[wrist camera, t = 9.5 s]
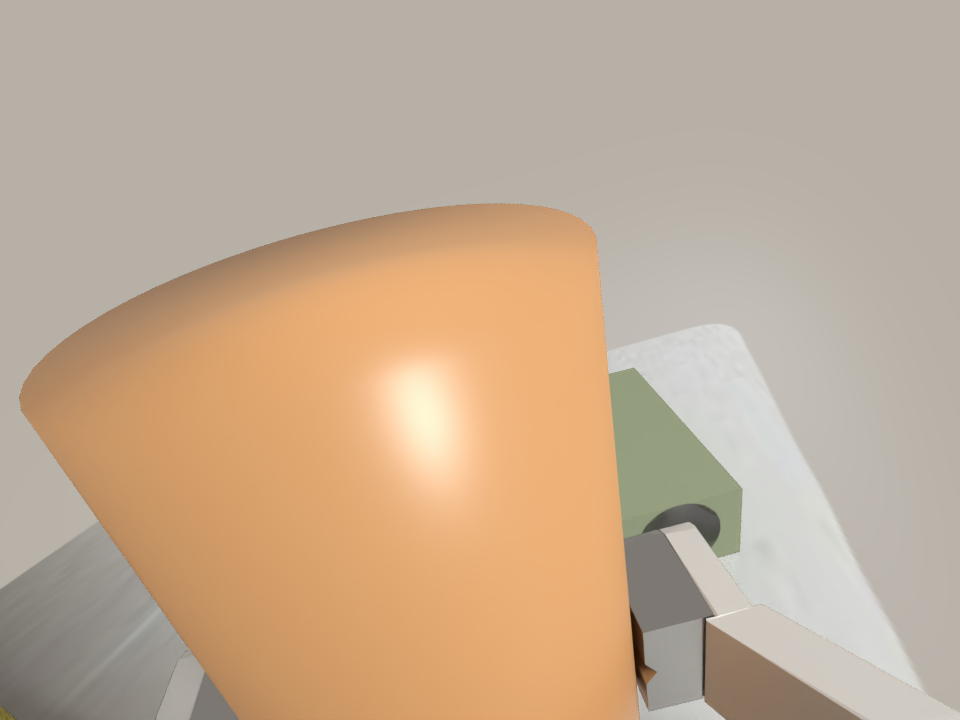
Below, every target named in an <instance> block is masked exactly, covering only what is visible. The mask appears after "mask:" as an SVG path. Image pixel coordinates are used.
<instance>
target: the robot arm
mask: <svg viewBox="0 0 960 720" xmlns="http://www.w3.org/2000/svg"><path fill="white" fill-rule="evenodd" d="M624 551H625V562H626V573H627V584H628V595H629V606H630V617H631V628H632V639H633V650H634V661H635V672H636V683H637V685H638V687H639V690H640V692H641V694H642V697H643V699H644V702H645V704H646V706H647V709H648V711H653V710H657V709H661V708H665V707H670V706H674V705H678V704H682V703H686V702H690V701H694V700H699V699H703V698H705V702H706V703H707V704H708V705H709V706H711V707H712V708H713V709H714V710H715V711H717V712H718V713H719V714H720V715H721V716H722V717H724V718H725V719H726V720H960V713H959V712H957V711H956V710H954V709H952V708H950V707H948V706H946V705H945V704H943V703H941V702H939V701H937V700H936V699H934V698H932V697H930V696H928V695H926V694H925V693H923V692H921V691H919V690H917V689H916V688H914V687H912V686H910V685H908V684H907V683H905V682H903V681H901V680H899V679H897V678H896V677H894V676H892V675H890V674H888V673H887V672H885V671H883V670H881V669H879V668H877V667H876V666H874V665H872V664H870V663H868V662H867V661H865V660H863V659H861V658H859V657H857V656H856V655H854V654H852V653H850V652H848V651H847V650H845V649H843V648H841V647H839V646H838V645H836V644H834V643H832V642H830V641H828V640H827V639H825V638H823V637H821V636H819V635H818V634H816V633H814V632H812V631H810V630H808V629H807V628H805V627H803V626H801V625H799V624H798V623H796V622H794V621H792V620H790V619H789V618H787V617H785V616H783V615H781V614H779V613H778V612H776V611H774V610H772V609H770V608H769V607H767V606H765V605H763V604H760V605H756V606H752V605H751V604H750V602H749V601H748V599H747V598H746V597H745V595H744V594H743V592H742V591H741V590H740V588H739V587H738V585H737V584H736V583H735V581H734V580H733V578H732V577H731V576H730V574H729V573H728V571H727V570H726V569H725V567H724V566H723V564H722V563H721V562H720V560H719V559H718V557H717V556H716V555H715V553H714V552H713V550H712V549H711V548H710V546H709V545H708V543H707V542H706V541H705V539H704V538H703V536H702V535H701V533H700V532H699V531H698V529H697V528H696V526H695V525H693V524H691V523H690V522H686V523H682V524H678V525H675V526H671V527H667V528H663V529H659V530H653V531H650V532H646V533H642V534H639V535H635V536H631V537H628V538H624ZM155 720H239V719H238V717H237V716H236V715H235V713H234V712H233V710H232V709H231V707H230V706H229V705H228V703H227V702H226V700H225V699H224V698H223V696H222V695H221V693H220V692H219V690H218V689H217V688H216V686H215V685H214V683H213V682H212V681H211V679H210V678H209V676H208V675H207V673H206V672H205V671H204V669H203V668H202V666H201V665H200V663H199V662H198V661H197V659H196V658H195V656H194V655H193V654H192V652H191V651H190V650H188V651H186V652H185V653H184V654H183V655H182V657H181V658H180V659H179V660H178V662H177V663H176V666H175V669H174V671H173V674H172V677H171V679H170V682H169V684H168V687H167V690H166V692H165V695H164V698H163V700H162V703H161V705H160V708H159V711H158V713H157V716H156V718H155Z"/></svg>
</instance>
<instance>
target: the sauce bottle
mask: <svg viewBox="0 0 960 720" xmlns="http://www.w3.org/2000/svg"><path fill="white" fill-rule="evenodd" d="M0 720H17V719H15V718H14V717H13V716H12V715H11V714H10V713H8V712H7V711H6V710H5V709H4V708H3V707H1V706H0Z"/></svg>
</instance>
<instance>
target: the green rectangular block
mask: <svg viewBox="0 0 960 720" xmlns="http://www.w3.org/2000/svg"><path fill="white" fill-rule="evenodd" d="M609 384H610V395H611V406H612V417H613V429H614V440H615V451H616V462H617V473H618V484H619V495H620V506H621V517H622V528H623V539H624V538H628V537H631V536H635V535H639V534H642V533H646V532H650V531H653V530H659V529H663V528H667V527H671V526H675V525H678V524H682V523H686V522H690V523H691V524H693V525H695V526H696V528H697V529H698V531H699V532H700V533H701V535H702V536H703V538H704V539H705V541H706V542H707V543H708V545H709V546H710V548H711V549H712V550H713V552H714V553H715V555H716V556H717V557H721V556H724V555H728V554H732V553H736V552H739V551H740V533H741V510H742V488H741V486H740V485H739V484H738V483H737V482H736V481H735V480H734V479H733V477H732V476H731V475H730V474H729V473H728V472H727V471H726V470H725V469H724V467H723V466H722V465H721V464H720V463H719V462H718V461H717V460H716V459H715V457H714V456H713V455H712V454H711V453H710V452H709V451H708V450H707V448H706V447H705V446H704V445H703V444H702V443H701V442H700V441H699V440H698V438H697V437H696V436H695V435H694V434H693V433H692V432H691V431H690V429H689V428H688V427H687V426H686V425H685V424H684V423H683V422H682V421H681V419H680V418H679V417H678V416H677V415H676V414H675V413H674V412H673V410H672V409H671V408H670V407H669V406H668V405H667V404H666V403H665V402H664V400H663V399H662V398H661V397H660V396H659V395H658V394H657V393H656V392H655V390H654V389H653V388H652V387H651V386H650V385H649V384H648V383H647V381H646V380H645V379H644V378H643V377H642V376H641V375H640V374H639V373H638V371H637V370H636V369H635V368H631V369H627V370H623V371H619V372H615V373H611V374H609Z"/></svg>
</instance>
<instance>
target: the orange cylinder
mask: <svg viewBox="0 0 960 720" xmlns="http://www.w3.org/2000/svg"><path fill="white" fill-rule="evenodd" d="M19 399H20V405H21V410H22V412H23V414H24V415H25V416H26V418H27V419H28V421H29V422H30V424H31V425H32V426H33V428H34V429H35V431H36V432H37V434H38V435H39V436H40V438H41V439H42V441H43V442H44V443H45V445H46V446H47V447H48V449H49V451H50V452H51V453H52V455H53V456H54V458H55V459H56V460H57V462H58V463H59V465H60V466H61V467H62V469H63V470H64V472H65V473H66V475H67V476H68V477H69V479H70V480H71V482H72V483H73V485H74V486H75V487H76V489H77V490H78V492H79V493H80V494H81V496H82V497H83V499H84V500H85V502H86V503H87V504H88V506H89V507H90V509H91V510H92V512H93V513H94V514H95V516H96V517H97V519H98V520H99V522H100V523H101V524H102V526H103V527H104V529H105V530H106V531H107V533H108V534H109V536H110V537H111V539H112V540H113V541H114V543H115V544H116V546H117V547H118V548H119V550H120V551H121V553H122V554H123V556H124V557H125V558H126V560H127V561H128V563H129V564H130V566H131V567H132V568H133V570H134V571H135V573H136V574H137V575H138V577H139V578H140V580H141V581H142V583H143V584H144V585H145V587H146V588H147V590H148V591H149V593H150V594H151V595H152V597H153V598H154V600H155V601H156V602H157V604H158V605H159V607H160V608H161V610H162V611H163V612H164V614H165V615H166V617H167V618H168V619H169V621H170V622H171V624H172V625H173V627H174V628H175V629H176V631H177V632H178V634H179V635H180V637H181V638H182V639H183V641H184V642H185V644H186V645H187V646H188V648H189V649H190V651H191V652H192V654H193V655H194V656H195V658H196V659H197V661H198V662H199V663H200V665H201V666H202V668H203V669H204V671H205V672H206V673H207V675H208V676H209V678H210V679H211V681H212V682H213V683H214V685H215V686H216V688H217V689H218V690H219V692H220V693H221V695H222V696H223V698H224V699H225V700H226V702H227V703H228V705H229V706H230V707H231V709H232V710H233V712H234V713H235V715H236V716H237V717H238V719H239V720H640V717H639V706H638V695H637V684H636V672H635V661H634V650H633V639H632V628H631V617H630V606H629V595H628V584H627V573H626V562H625V551H624V539H623V528H622V517H621V506H620V495H619V484H618V473H617V462H616V451H615V440H614V429H613V417H612V406H611V395H610V384H609V373H608V362H607V351H606V340H605V329H604V318H603V308H602V297H601V284H600V273H599V262H598V251H597V241H596V236H595V234H594V232H593V230H592V229H591V227H590V226H589V225H588V224H586V223H585V222H584V221H583V220H582V219H580V218H578V217H576V216H574V215H572V214H569V213H566V212H563V211H560V210H556V209H552V208H546V207H541V206H534V205H523V204H502V203H501V204H471V205H470V204H469V205H456V206H445V207H436V208H428V209H421V210H413V211H407V212H401V213H394V214H389V215H384V216H379V217H373V218H368V219H363V220H359V221H354V222H349V223H345V224H341V225H337V226H333V227H328V228H324V229H320V230H317V231H313V232H309V233H305V234H301V235H298V236H295V237H291V238H288V239H284V240H281V241H278V242H274V243H271V244H268V245H265V246H261V247H258V248H255V249H252V250H249V251H246V252H244V253H240V254H238V255H235V256H232V257H229V258H226V259H223V260H221V261H218V262H215V263H213V264H210V265H207V266H205V267H202V268H200V269H197V270H195V271H192V272H190V273H188V274H185V275H182V276H180V277H178V278H175V279H173V280H171V281H169V282H166V283H164V284H162V285H160V286H157V287H155V288H153V289H151V290H149V291H147V292H145V293H143V294H141V295H139V296H137V297H134V298H132V299H131V300H128V301H127V302H125V303H123V304H121V305H119V306H117V307H115V308H114V309H112V310H110V311H108V312H106V313H105V314H103V315H101V316H100V317H98V318H97V319H95V320H93V321H91V322H90V323H88V324H86V325H85V326H83V327H82V328H81V329H79V330H78V331H76V332H75V333H73V334H72V335H70V336H69V337H68V338H66V339H65V340H64V341H62V342H61V343H60V344H59V345H57V346H56V347H55V348H54V349H53V350H51V351H50V352H49V353H48V354H47V355H46V356H45V357H44V358H43V359H42V360H41V361H40V362H39V363H38V364H37V365H36V366H35V367H34V368H33V370H32V371H31V373H30V374H29V376H28V377H27V379H26V380H25V382H24V384H23V387H22V390H21V393H20V397H19Z"/></svg>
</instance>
